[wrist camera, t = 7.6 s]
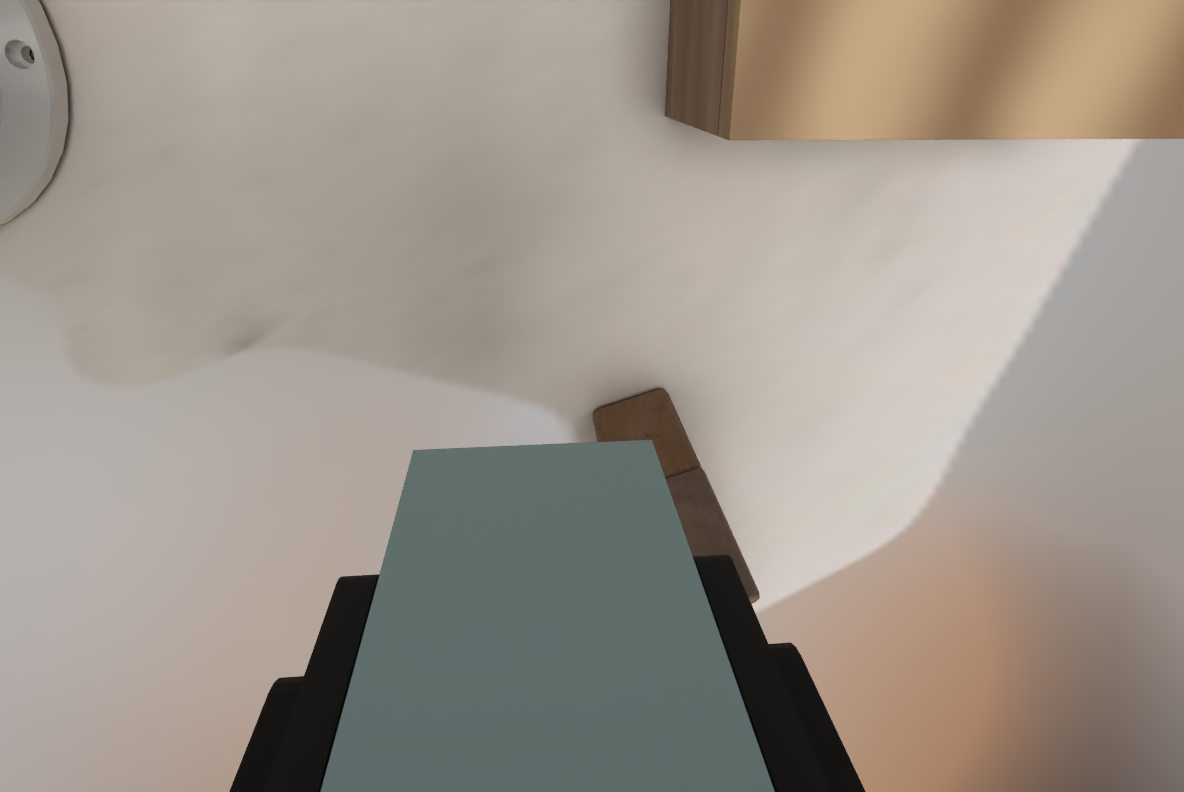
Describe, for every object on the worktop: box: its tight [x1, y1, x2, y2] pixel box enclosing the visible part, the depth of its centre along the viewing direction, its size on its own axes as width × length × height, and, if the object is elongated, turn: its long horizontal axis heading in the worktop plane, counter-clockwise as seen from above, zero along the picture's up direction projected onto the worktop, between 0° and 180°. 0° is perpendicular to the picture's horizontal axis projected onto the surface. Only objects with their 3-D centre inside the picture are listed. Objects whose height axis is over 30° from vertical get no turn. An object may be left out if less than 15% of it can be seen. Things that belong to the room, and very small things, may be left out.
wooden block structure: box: [593, 389, 760, 604], centre depth 27 cm, size 4×11×18 cm, turn 18°
